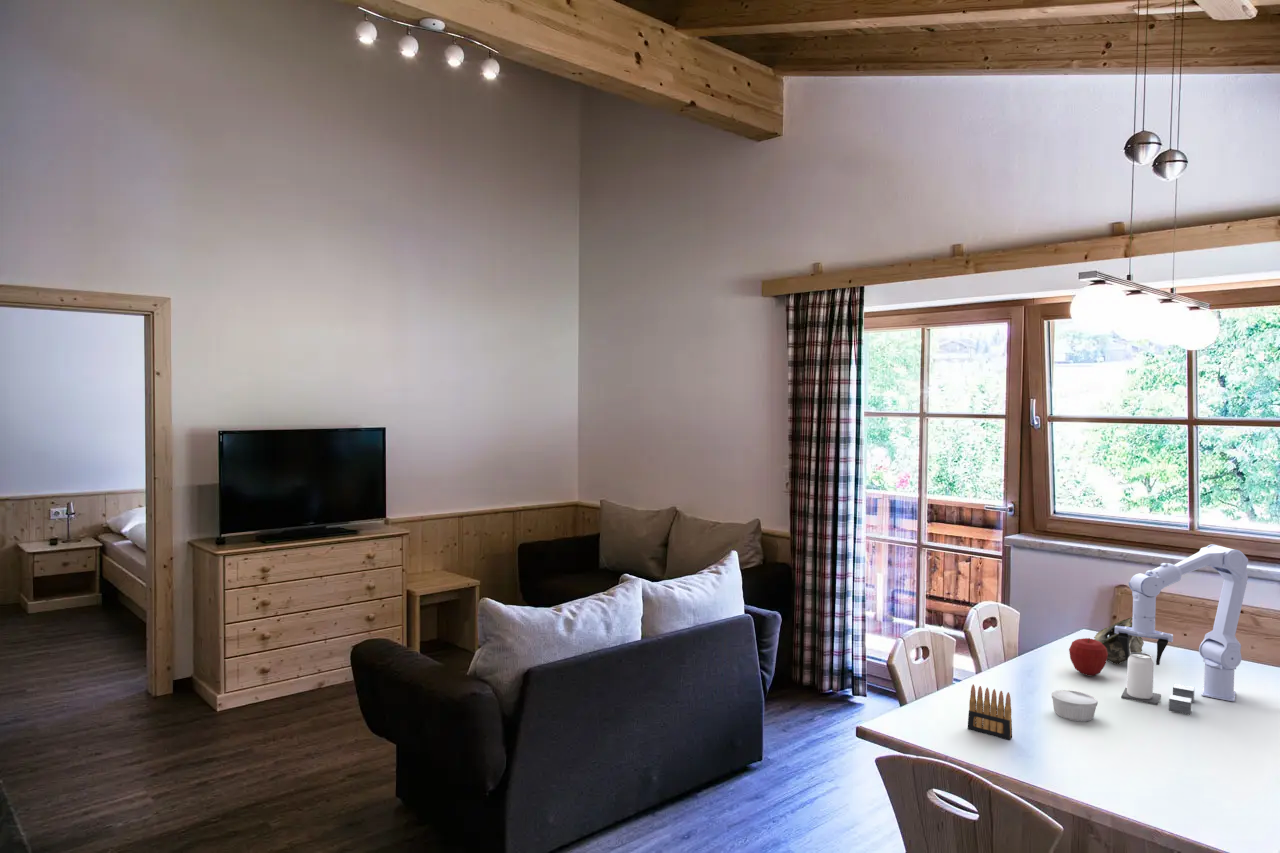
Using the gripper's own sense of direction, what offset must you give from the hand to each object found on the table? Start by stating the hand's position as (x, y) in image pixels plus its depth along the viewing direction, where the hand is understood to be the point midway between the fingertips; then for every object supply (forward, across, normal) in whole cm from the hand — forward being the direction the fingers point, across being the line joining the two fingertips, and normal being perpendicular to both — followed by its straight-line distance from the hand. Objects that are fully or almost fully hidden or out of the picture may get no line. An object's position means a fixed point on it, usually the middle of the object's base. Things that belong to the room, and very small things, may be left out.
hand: (1142, 661), depth 244 cm
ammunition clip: (+11, -28, -56) cm, 64 cm away
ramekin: (+11, -13, -28) cm, 33 cm away
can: (+10, 0, -2) cm, 10 cm away
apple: (+11, -16, +12) cm, 23 cm away
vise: (+10, +10, -1) cm, 14 cm away
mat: (+10, 0, 0) cm, 10 cm away
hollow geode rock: (+11, -12, +38) cm, 42 cm away
